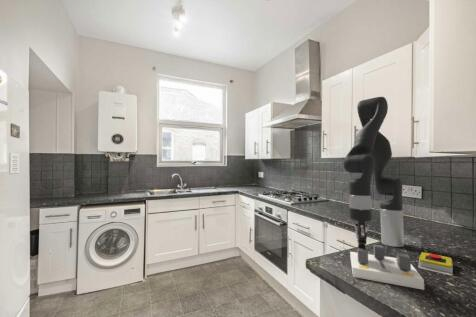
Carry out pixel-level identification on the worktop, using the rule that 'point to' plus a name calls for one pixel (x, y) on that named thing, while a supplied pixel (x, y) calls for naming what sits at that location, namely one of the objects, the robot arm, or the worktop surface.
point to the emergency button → (436, 263)
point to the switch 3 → (403, 261)
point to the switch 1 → (362, 255)
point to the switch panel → (385, 271)
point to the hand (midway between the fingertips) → (361, 253)
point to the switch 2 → (378, 251)
